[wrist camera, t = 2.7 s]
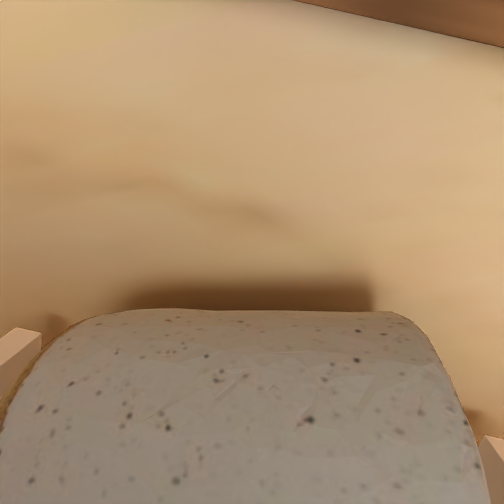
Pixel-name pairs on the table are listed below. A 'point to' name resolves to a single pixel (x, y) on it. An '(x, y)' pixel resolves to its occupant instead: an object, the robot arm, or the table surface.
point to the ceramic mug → (238, 413)
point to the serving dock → (434, 15)
